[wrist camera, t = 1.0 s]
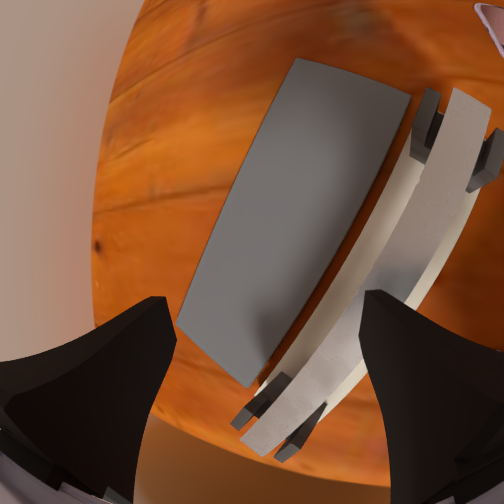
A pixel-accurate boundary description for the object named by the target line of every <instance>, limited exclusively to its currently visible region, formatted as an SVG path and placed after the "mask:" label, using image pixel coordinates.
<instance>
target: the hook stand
mask: <svg viewBox="0 0 504 504" xmlns="http://www.w3.org/2000/svg"><path fill="white" fill-rule="evenodd" d="M440 97H441V93H439V92H437V91H435V90H432V89H430V88H428V87H426V89H425V92H424V95H423V97H422V100H421V103H420V105H419V108H418V110H417V113H416V115H415V118H414V120H413V123H412V129H411V131H410V133H409V136H408V138H407V140H406V143H405V145H404V147H403V150H402V152H401V154H400V156H399V158H398V161H397V163H396V165H395V167H394V169H393V171H392V174H391V176H390V178H389V180H388V182H387V184H386V186H385V188H384V190H383V192H382V194H381V196H380V198H379V200H378V202H377V204H376V206H375V208H374V210H373V212H372V214H371V215H370V217H369V219H368V221H367V223H366V225H365V227H364V228H363V230H362V232H361V234H360V236H359V238H358V239H357V241H356V243H355V245H354V247H353V248H352V250H351V252H350V254H349V255H348V257H347V259H346V260H345V262H344V264H343V266H342V267H341V269H340V271H339V272H338V274H337V276H336V277H335V279H334V281H333V282H332V284H331V285H330V287H329V289H328V290H327V292H326V293H325V295H324V297H323V298H322V300H321V301H320V303H319V305H318V306H317V308H316V309H315V311H314V312H313V314H312V315H311V317H310V318H309V320H308V321H307V323H306V324H305V326H304V327H303V329H302V330H301V332H300V333H299V335H298V336H297V338H296V339H295V341H294V342H293V343H292V345H291V346H290V348H289V349H288V351H287V352H286V353H285V355H284V356H283V358H282V359H281V360H280V362H279V363H278V364H277V366H276V367H275V369H274V370H273V371H272V373H271V374H270V375H269V377H268V378H267V379H266V381H265V382H264V383H263V385H262V386H261V387H260V388H259V390H258V391H257V392H256V394H255V395H254V396H255V397H254V398H253V399H252V400H251V401H250V402H249V403H248V404H247V405H245V406H244V407H243V409H242V410H241V411H240V412H239V413H238V415H237V416H236V417H235V418H234V420H233V421H232V422H231V423H230V424H231V425H232V426H233V427H235V428H236V429H237V430H238V431H239V430H240V429H241V428H242V427H243V426H244V425H245V424H246V423H247V422H248V421H249V420H250V419H251V418H252V417H253V416H256V417H257V418H258V419H260V417H261V416H262V415H263V414H264V413H265V412H266V411H267V410H268V409H269V407H270V406H271V405H272V404H273V403H274V402H275V401H276V399H277V398H278V397H279V396H280V395H281V394H282V392H283V391H284V390H285V389H286V388H287V387H288V385H289V384H290V383H291V382H292V380H293V379H294V378H295V377H296V376H297V374H298V373H299V372H300V371H301V369H302V368H303V367H304V366H305V364H306V363H307V362H308V360H309V359H310V358H311V357H312V355H313V354H314V353H315V351H316V350H317V349H318V347H319V346H320V345H321V343H322V342H323V341H324V339H325V338H326V336H327V335H328V334H329V332H330V331H331V329H332V328H333V327H334V325H335V324H336V322H337V321H338V319H339V318H340V317H341V315H342V314H343V312H344V311H345V309H346V308H347V306H348V305H349V303H350V302H351V300H352V299H353V297H354V296H355V294H356V293H357V291H358V289H359V288H360V286H361V285H362V283H363V282H364V280H365V278H366V277H367V275H368V273H369V272H370V270H371V269H372V267H373V265H374V263H375V262H376V260H377V258H378V257H379V255H380V253H381V252H382V250H383V248H384V246H385V244H386V243H387V241H388V239H389V237H390V235H391V234H392V232H393V230H394V228H395V226H396V224H397V222H398V221H399V219H400V217H401V215H402V213H403V211H404V209H405V207H406V205H407V203H408V201H409V199H410V197H411V195H412V193H413V191H414V188H415V186H416V184H417V182H418V180H419V178H420V175H421V173H422V171H423V169H424V166H425V164H426V162H427V159H428V157H429V155H430V152H431V150H432V147H433V145H434V142H435V140H436V137H437V135H438V132H439V129H440V127H441V124H442V121H443V119H444V116H445V115H444V114H442V113H440V112H439V111H438V106H439V102H440ZM503 159H504V132H503V131H501V130H500V129H498V128H496V129H495V130H494V131H493V133H492V134H491V135H490V136H489V137H488V139H487V140H485V139H484V140H483V143H482V146H481V149H480V152H479V155H478V158H477V161H476V164H475V167H474V169H473V172H472V175H471V177H470V180H469V182H468V185H467V187H466V190H465V192H464V194H463V197H462V199H461V201H460V204H459V206H458V208H457V210H456V213H455V215H454V217H453V219H452V221H451V223H450V225H449V227H448V229H447V231H446V233H445V235H444V237H443V239H442V241H441V243H440V245H439V246H438V248H437V250H436V252H435V254H434V256H433V257H432V259H431V261H430V263H429V264H428V266H427V268H426V269H425V271H424V273H423V275H422V276H421V278H420V279H419V281H418V283H417V284H416V286H415V287H414V289H413V291H412V292H411V294H410V295H409V297H408V298H407V300H406V301H405V303H404V304H406V305H407V306H409V307H410V308H412V309H414V310H416V309H417V307H418V306H419V305H420V303H421V302H422V300H423V298H424V297H425V295H426V294H427V292H428V291H429V289H430V288H431V286H432V284H433V283H434V281H435V279H436V278H437V276H438V274H439V273H440V271H441V269H442V268H443V266H444V264H445V262H446V261H447V259H448V257H449V255H450V253H451V251H452V249H453V248H454V246H455V244H456V242H457V240H458V238H459V236H460V234H461V232H462V230H463V228H464V226H465V224H466V221H467V219H468V217H469V215H470V213H471V210H472V208H473V206H474V203H475V201H476V199H477V196H478V194H479V191H480V189H481V187H483V186H484V185H486V184H488V183H490V182H491V181H493V180H495V179H497V178H498V175H499V172H500V169H501V166H502V162H503ZM367 372H368V371H367V368H366V365H365V362H364V359H362V360H361V361H360V363H359V364H358V365H357V366H356V367H355V369H354V370H353V371H352V372H351V373H350V374H349V375H348V377H347V378H346V379H345V380H344V381H343V382H342V383H341V384H340V385H339V387H338V388H337V389H336V390H335V391H334V392H333V393H332V394H331V395H330V396H329V397H328V398H327V399H326V400H325V401H324V402H323V403H322V404H321V405H320V406H319V407H318V408H317V409H316V410H315V411H314V412H313V413H312V414H311V415H310V416H309V417H308V418H307V419H306V420H305V421H304V422H303V423H302V424H301V425H300V426H299V427H298V428H296V429H295V430H294V431H293V432H292V433H291V434H290V435H289V436H288V437H286V438H285V439H286V441H285V443H284V444H283V445H282V447H281V448H280V449H279V450H278V452H277V453H276V454H275V456H274V458H275V459H277V460H278V461H280V462H281V463H283V462H284V461H286V460H287V459H288V458H290V457H291V456H292V455H294V454H295V453H296V452H298V451H299V450H300V449H301V448H302V446H303V445H304V443H305V442H306V440H307V438H308V437H309V435H310V434H311V432H312V430H313V429H314V427H315V425H316V424H317V423H318V422H319V421H320V420H321V419H322V418H323V417H325V416H326V415H327V414H328V413H329V412H330V411H331V410H332V409H333V408H334V407H335V406H336V405H337V404H338V403H339V402H340V401H341V400H342V399H343V398H344V397H345V396H346V395H347V394H348V393H349V392H350V391H351V390H352V389H353V387H354V386H355V385H356V384H357V383H358V382H359V381H360V380H361V379H362V378H363V377H364V375H365V374H366V373H367Z"/></svg>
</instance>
